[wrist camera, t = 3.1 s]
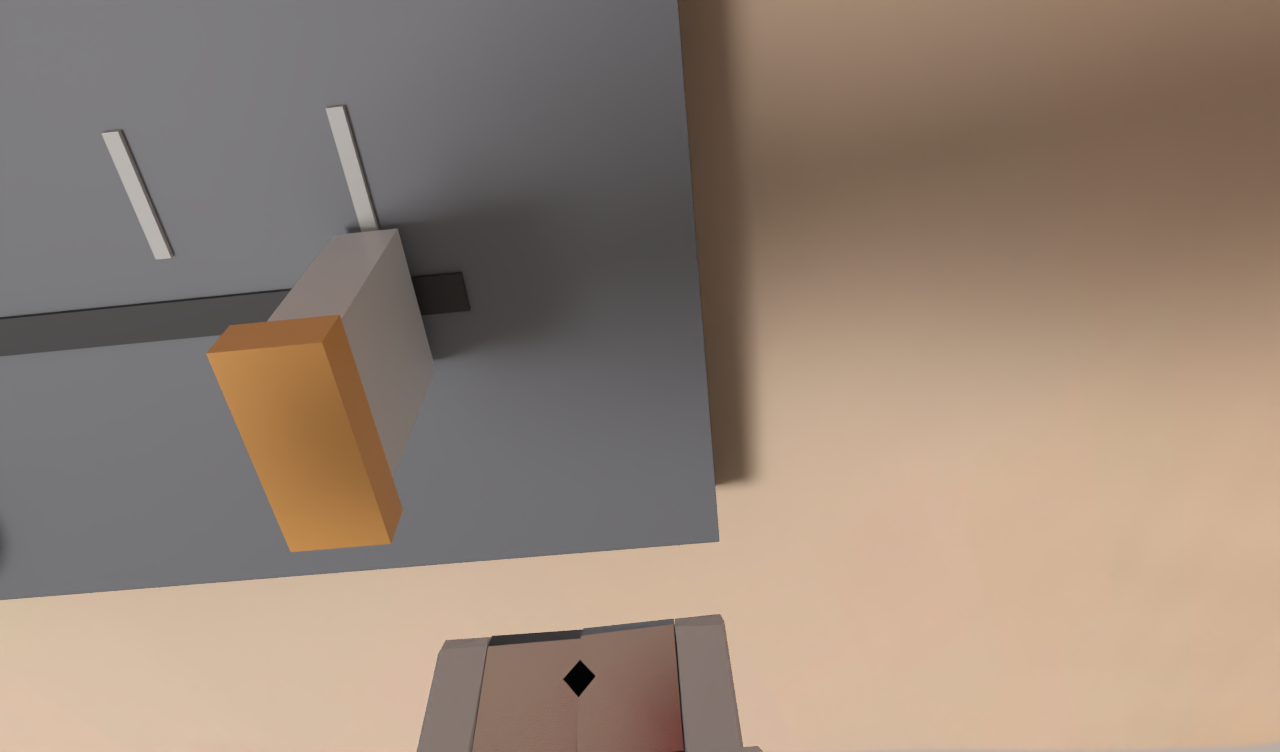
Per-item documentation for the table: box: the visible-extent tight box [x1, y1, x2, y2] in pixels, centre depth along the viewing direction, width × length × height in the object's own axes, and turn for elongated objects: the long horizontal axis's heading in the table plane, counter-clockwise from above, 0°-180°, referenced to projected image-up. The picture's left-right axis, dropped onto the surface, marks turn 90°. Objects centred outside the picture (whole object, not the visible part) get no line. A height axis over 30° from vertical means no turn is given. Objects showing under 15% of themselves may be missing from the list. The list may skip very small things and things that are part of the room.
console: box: [0, 0, 719, 600], centre depth 17 cm, size 22×14×4 cm, turn 96°
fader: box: [206, 228, 435, 552], centre depth 15 cm, size 2×4×5 cm, turn 6°
